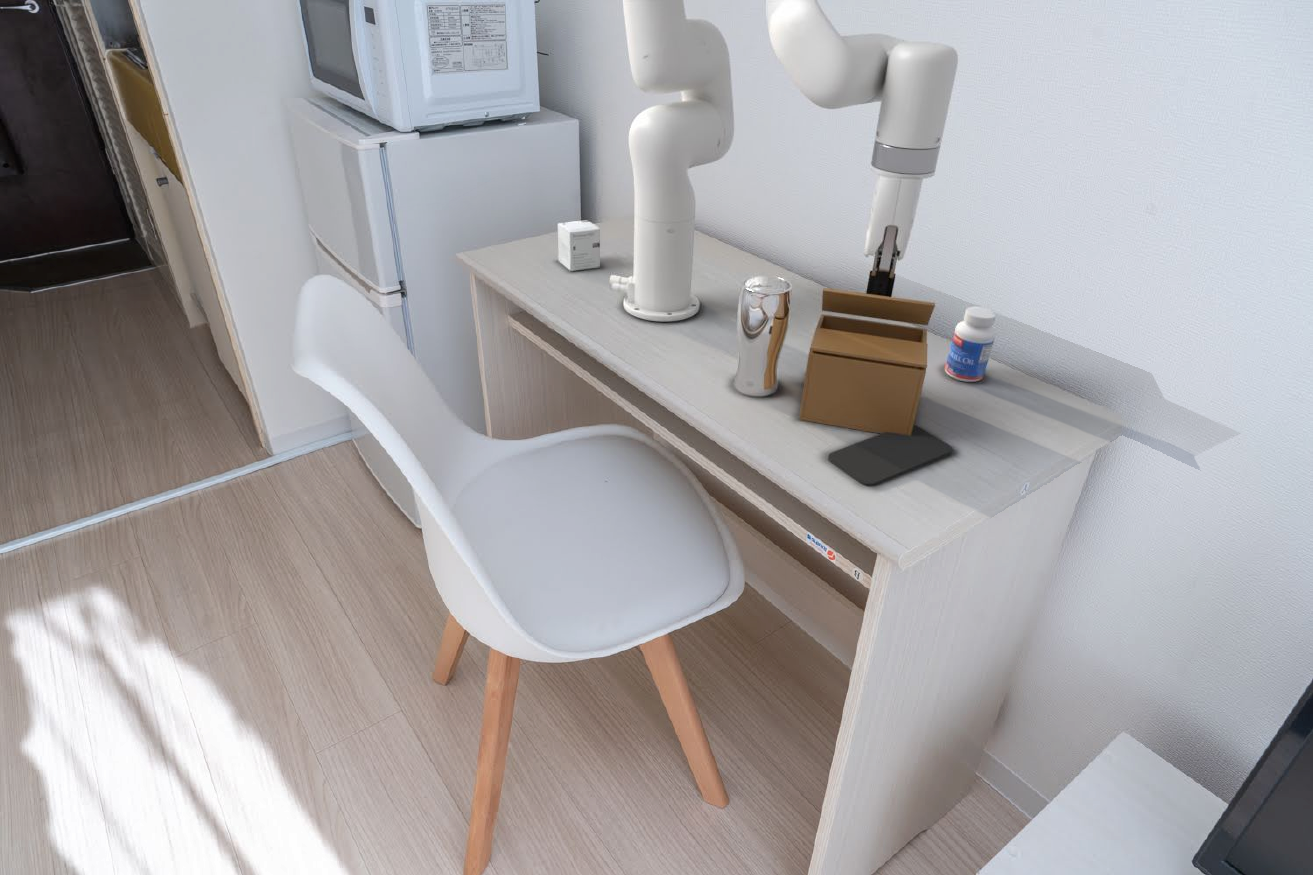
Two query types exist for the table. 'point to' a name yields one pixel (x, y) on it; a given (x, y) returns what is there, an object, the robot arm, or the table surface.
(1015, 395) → the table surface
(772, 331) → the beer glass
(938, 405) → the table surface
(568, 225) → the white cardboard box
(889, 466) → the phone
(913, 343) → the carton
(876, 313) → the flap
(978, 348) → the pill bottle
